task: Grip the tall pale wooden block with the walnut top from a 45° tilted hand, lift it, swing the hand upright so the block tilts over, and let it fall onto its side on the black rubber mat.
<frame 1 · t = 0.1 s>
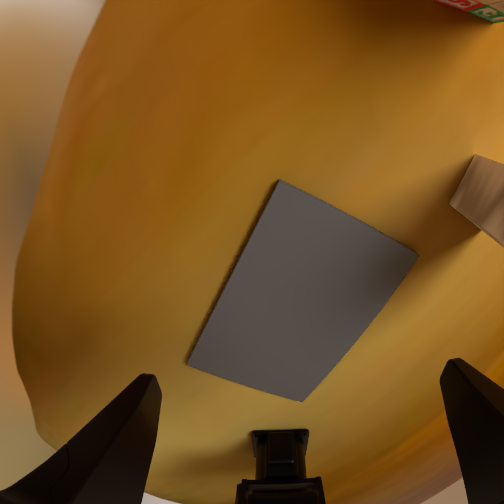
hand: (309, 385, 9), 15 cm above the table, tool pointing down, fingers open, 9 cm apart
tall pale block: (479, 193, 20), on the table
black rubber mat: (294, 314, 25), on the table
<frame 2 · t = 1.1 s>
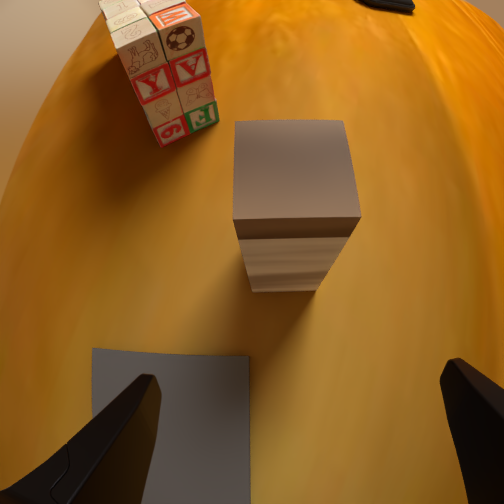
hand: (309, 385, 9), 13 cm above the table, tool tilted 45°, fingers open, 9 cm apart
tall pale block: (283, 260, 24), on the table
black rubber mat: (168, 468, 19), on the table
stack of blocks: (160, 79, 32), on the table
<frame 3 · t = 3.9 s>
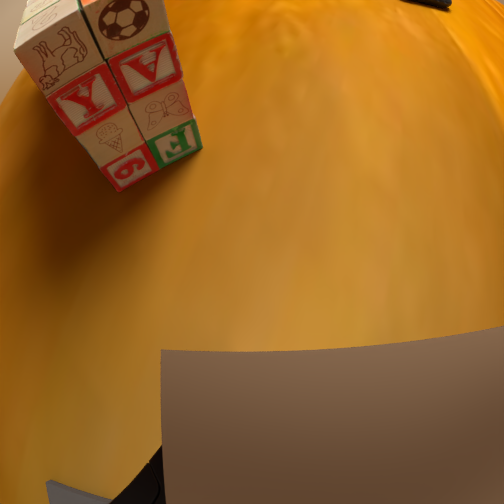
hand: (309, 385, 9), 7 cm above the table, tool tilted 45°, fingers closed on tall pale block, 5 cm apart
tall pale block: (293, 401, 14), on the table, touching gripper
stack of blocks: (124, 87, 23), on the table
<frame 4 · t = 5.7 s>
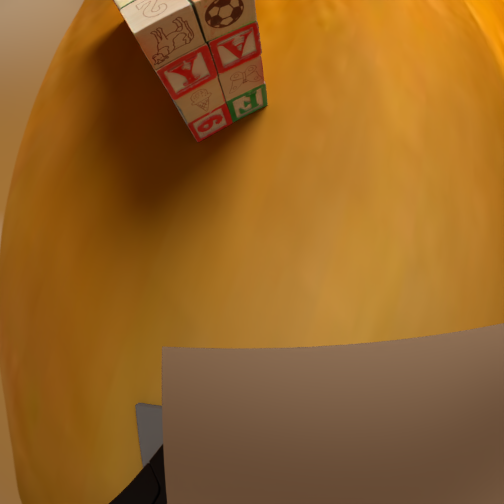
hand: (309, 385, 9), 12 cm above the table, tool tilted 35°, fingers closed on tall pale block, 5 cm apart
tall pale block: (293, 401, 14), point 6 cm above the table, tilted 11°, touching gripper
stack of blocks: (182, 51, 25), on the table
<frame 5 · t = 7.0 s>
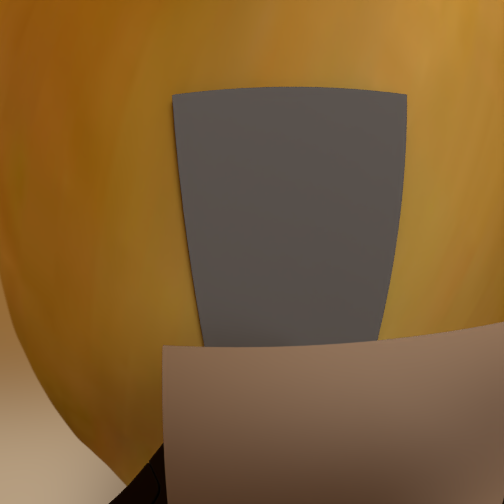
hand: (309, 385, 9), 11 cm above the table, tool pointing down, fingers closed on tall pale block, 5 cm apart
tall pale block: (293, 400, 14), point 7 cm above the table, tilted 45°, touching gripper
black rubber mat: (294, 249, 19), on the table
when the fingers open (7 cm above the table, at t = 7.9 s): tall pale block moves 2 cm and tips over, resting on black rubber mat.
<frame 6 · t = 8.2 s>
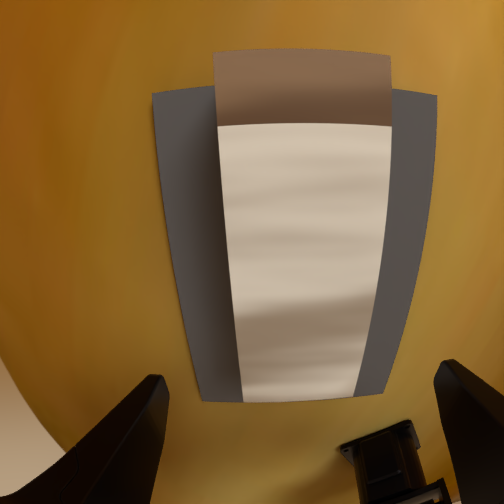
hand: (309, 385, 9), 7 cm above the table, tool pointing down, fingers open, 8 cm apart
tall pale block: (295, 363, 14), point 3 cm above the table, tilted 90°, touching black rubber mat
black rubber mat: (300, 277, 16), on the table
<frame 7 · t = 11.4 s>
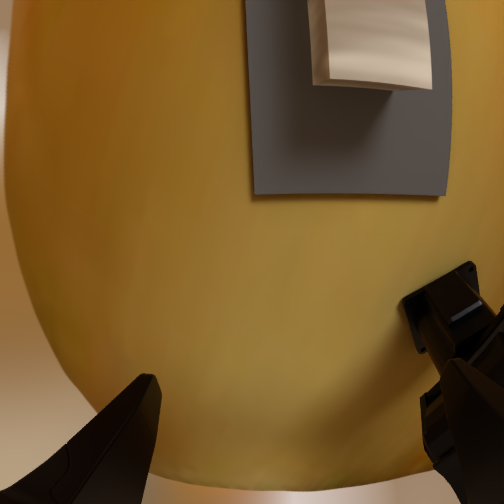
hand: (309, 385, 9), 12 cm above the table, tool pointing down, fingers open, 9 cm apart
tall pale block: (367, 85, 13), point 3 cm above the table, tilted 90°, touching black rubber mat
black rubber mat: (356, 40, 14), on the table
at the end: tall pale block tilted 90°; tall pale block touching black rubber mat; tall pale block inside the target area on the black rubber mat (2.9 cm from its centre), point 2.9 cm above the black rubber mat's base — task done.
